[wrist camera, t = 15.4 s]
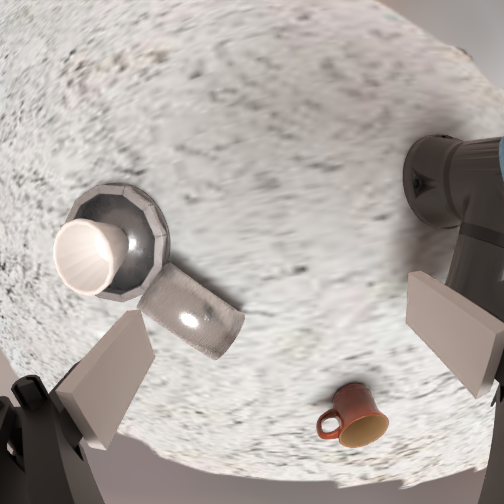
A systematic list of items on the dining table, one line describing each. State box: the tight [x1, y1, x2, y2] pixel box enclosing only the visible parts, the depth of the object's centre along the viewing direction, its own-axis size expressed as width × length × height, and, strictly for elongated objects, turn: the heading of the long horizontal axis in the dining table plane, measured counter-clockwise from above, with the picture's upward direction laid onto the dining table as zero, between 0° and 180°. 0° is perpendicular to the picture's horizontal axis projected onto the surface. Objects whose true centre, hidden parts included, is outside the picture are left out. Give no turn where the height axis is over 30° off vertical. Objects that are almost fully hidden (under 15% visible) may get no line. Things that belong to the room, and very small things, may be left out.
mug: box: [316, 383, 389, 448], centre depth 43 cm, size 12×9×10 cm
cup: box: [53, 218, 129, 296], centre depth 36 cm, size 10×10×9 cm
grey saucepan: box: [65, 183, 245, 360], centre depth 39 cm, size 31×18×8 cm, turn 53°
